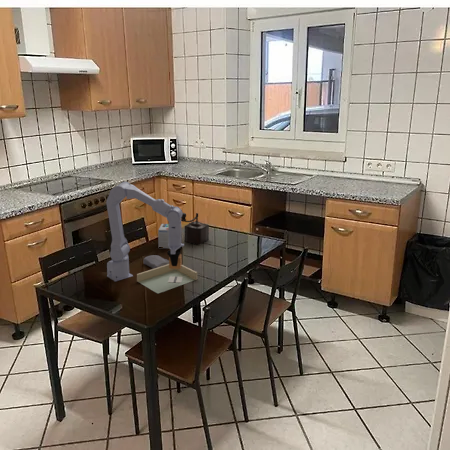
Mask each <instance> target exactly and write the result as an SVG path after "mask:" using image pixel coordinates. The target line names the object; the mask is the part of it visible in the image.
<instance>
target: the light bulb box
mask: <svg viewBox="0 0 450 450" xmlns="http://www.w3.org/2000/svg"><path fill="white" fill-rule="evenodd" d="M168 225H169V223H161V224H160V226H159V228H158V231H157V237H158V239H157V240H158V248H159V247H163V248H162V249H170V248H169V246H168V244H169V233H168Z"/></svg>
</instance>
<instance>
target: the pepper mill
mask: <svg viewBox="0 0 450 450" xmlns="http://www.w3.org/2000/svg"><path fill="white" fill-rule="evenodd" d="M186 217H187V214H186V213H185V212H183V215H182V217H181V223H182V222H184V223H188V224H186V225H184V239H183V240H184V242H186V243H189V244H193V245H196V246H197V245H198V246H200V245H202V244H204V243H206V242H208V241H209V239H210V238H209V233H210V232H209V231H210V230H209V229H210V224H209V223H208V224H207V223H202V222H200V221H199V218H198V217H199V213H197V212H196V213H195V217H194V218H192V219H190V220H187V218H186Z"/></svg>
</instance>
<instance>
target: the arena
mask: <svg viewBox="0 0 450 450" xmlns="http://www.w3.org/2000/svg"><path fill="white" fill-rule="evenodd" d="M197 280H198V271H195V270H193V269H191V268H189V267H188V266H185V265H184V264H182V265H181V268H180V269H171V268H169V264H167V265H164V266H161V267H158V268H154V269H153V268H151V269H149V270H146V271H142V272H139V273H136V282H138V283H140V284H141V285H143V286H144V287H146V288H147V289H149V290H151V291H152V292H154V293H155V294H161V293H164V292H167V291H169V290H171V289H175V288H177V287H181V286H182V285H186V284H189V283H191V282H194V281H197Z"/></svg>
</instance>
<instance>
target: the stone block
mask: <svg viewBox="0 0 450 450" xmlns="http://www.w3.org/2000/svg"><path fill="white" fill-rule="evenodd" d="M143 264H144V265H145V266H148V267H150V268H151V269H154V268H158V267H161V266H164V265H167V264H169V259H167V258H164V257H162V256H160V255H158V254H157V255H156V254H155V255H154V254H152V255H147V256H145V257H144V258H143Z"/></svg>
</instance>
